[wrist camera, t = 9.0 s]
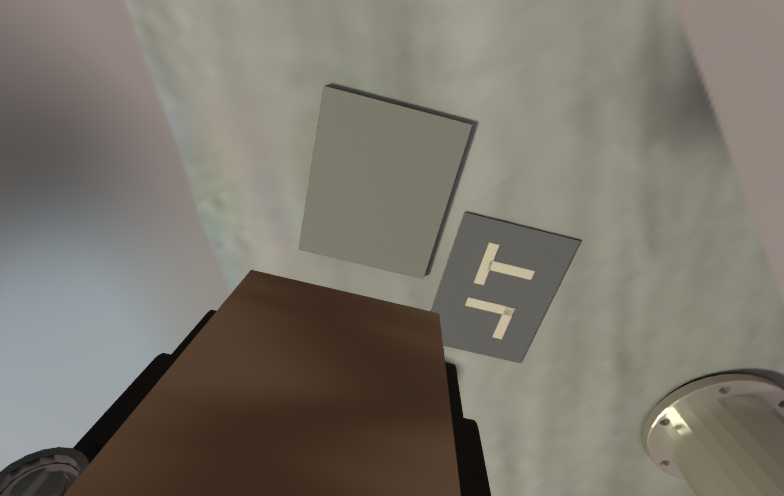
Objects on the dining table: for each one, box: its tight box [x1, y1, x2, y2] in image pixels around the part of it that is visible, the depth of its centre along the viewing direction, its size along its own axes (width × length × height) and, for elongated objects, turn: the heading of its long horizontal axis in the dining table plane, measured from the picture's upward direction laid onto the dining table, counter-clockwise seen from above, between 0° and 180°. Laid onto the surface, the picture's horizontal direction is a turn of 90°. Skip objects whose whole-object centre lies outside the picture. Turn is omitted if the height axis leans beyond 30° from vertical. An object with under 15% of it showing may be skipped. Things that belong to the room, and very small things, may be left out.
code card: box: [431, 212, 581, 363], centre depth 31 cm, size 9×12×1 cm
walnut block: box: [63, 270, 461, 496], centre depth 8 cm, size 5×5×7 cm
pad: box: [299, 86, 472, 279], centre depth 27 cm, size 10×12×1 cm
